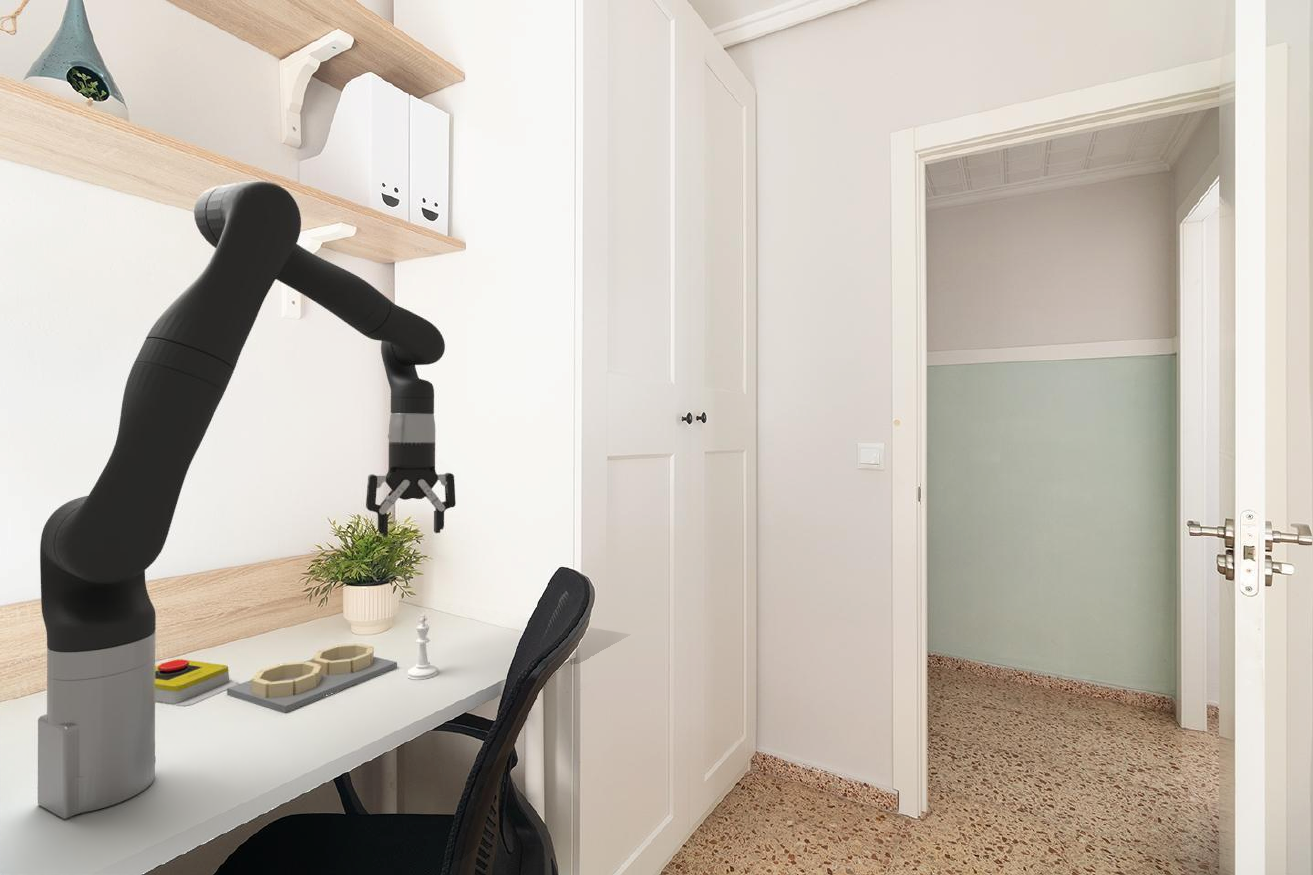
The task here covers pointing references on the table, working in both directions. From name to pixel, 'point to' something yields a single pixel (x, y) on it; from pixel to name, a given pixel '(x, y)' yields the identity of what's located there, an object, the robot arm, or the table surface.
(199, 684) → the emergency button
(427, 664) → the chess piece
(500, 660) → the table surface
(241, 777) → the table surface
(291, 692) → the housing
